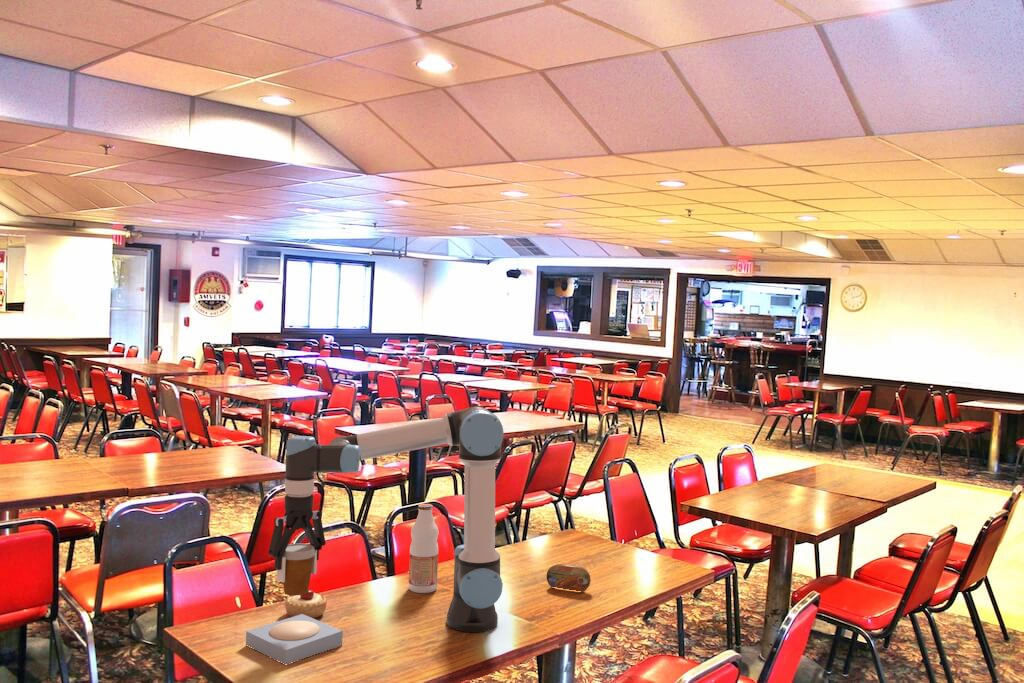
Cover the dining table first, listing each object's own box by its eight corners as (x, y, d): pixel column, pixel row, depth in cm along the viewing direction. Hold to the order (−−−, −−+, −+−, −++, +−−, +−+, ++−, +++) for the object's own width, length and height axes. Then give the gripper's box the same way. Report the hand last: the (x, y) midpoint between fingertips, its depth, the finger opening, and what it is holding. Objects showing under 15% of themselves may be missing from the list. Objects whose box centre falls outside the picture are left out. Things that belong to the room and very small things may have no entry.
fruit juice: (418, 595, 260) (421, 509, 259) (403, 587, 267) (405, 504, 266) (442, 590, 266) (445, 506, 265) (426, 582, 273) (429, 500, 272)
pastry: (304, 626, 232) (305, 596, 231) (276, 616, 238) (277, 587, 237) (334, 613, 242) (335, 584, 241) (306, 604, 248) (307, 576, 247)
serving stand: (342, 645, 218) (342, 629, 218) (285, 665, 204) (286, 648, 204) (301, 627, 229) (302, 612, 229) (245, 645, 215) (246, 629, 215)
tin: (545, 588, 272) (546, 563, 272) (548, 585, 275) (549, 561, 275) (588, 595, 266) (589, 570, 266) (591, 592, 269) (592, 567, 269)
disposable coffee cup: (304, 599, 211) (306, 553, 211) (271, 595, 213) (272, 550, 213) (320, 588, 220) (321, 544, 220) (288, 584, 222) (289, 541, 222)
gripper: (323, 486, 227) (321, 565, 227) (255, 497, 210) (252, 582, 210) (340, 490, 222) (338, 571, 222) (271, 502, 205) (269, 589, 205)
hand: (296, 576), depth 216 cm, fingers closed on disposable coffee cup, 9 cm apart
